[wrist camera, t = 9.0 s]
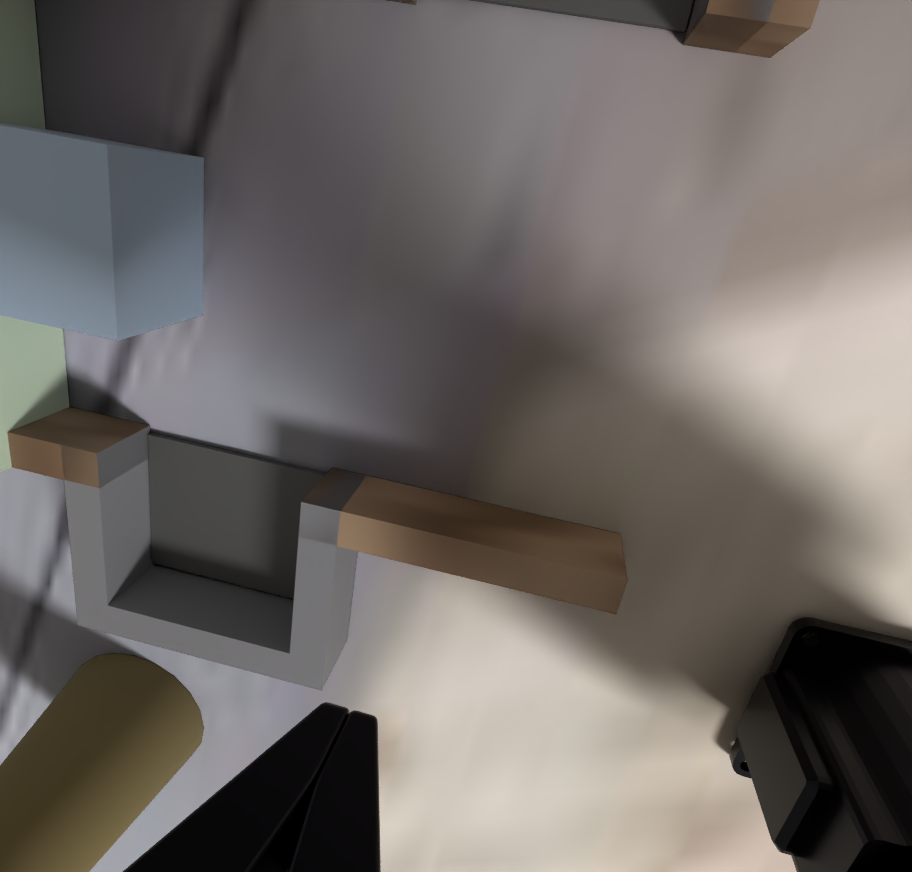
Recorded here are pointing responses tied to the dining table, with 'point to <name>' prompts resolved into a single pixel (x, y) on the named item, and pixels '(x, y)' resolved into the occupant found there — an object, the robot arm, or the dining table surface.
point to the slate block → (98, 233)
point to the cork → (93, 764)
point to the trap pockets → (244, 516)
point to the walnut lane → (429, 512)
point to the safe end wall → (3, 338)
